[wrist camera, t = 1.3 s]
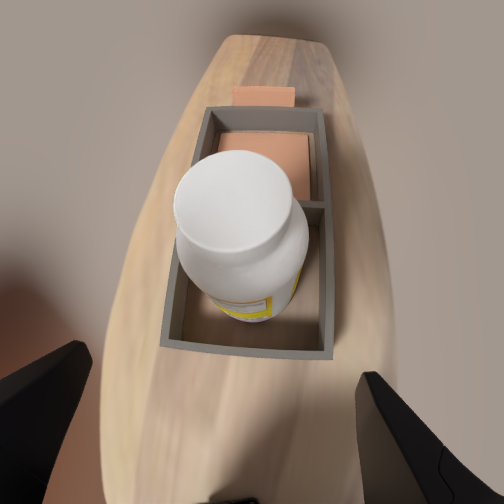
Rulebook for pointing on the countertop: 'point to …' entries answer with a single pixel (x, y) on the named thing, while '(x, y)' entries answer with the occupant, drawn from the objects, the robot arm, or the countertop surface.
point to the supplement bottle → (241, 233)
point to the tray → (297, 170)
